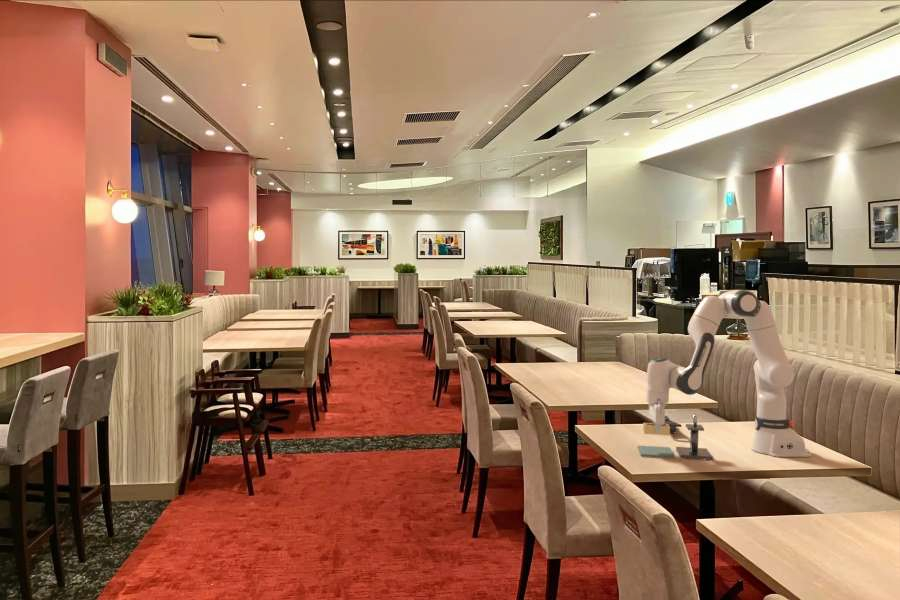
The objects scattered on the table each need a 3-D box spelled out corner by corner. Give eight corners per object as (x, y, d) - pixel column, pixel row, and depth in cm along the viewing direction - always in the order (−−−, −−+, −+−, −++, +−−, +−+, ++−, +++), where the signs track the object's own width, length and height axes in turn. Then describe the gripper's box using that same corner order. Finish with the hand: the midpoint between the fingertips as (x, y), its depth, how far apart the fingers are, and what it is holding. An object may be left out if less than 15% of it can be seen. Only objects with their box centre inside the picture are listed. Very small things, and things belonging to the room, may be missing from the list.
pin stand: (706, 452, 283) (707, 412, 282) (712, 460, 271) (713, 419, 270) (676, 450, 285) (677, 411, 284) (680, 458, 273) (682, 417, 272)
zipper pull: (662, 423, 304) (655, 411, 328) (661, 438, 304) (654, 425, 329) (683, 424, 302) (674, 412, 327) (682, 439, 303) (673, 426, 327)
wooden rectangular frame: (667, 432, 281) (668, 423, 281) (669, 435, 277) (670, 426, 276) (642, 430, 283) (643, 422, 283) (644, 433, 278) (644, 425, 278)
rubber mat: (669, 449, 286) (669, 447, 286) (674, 458, 273) (674, 456, 273) (637, 447, 288) (637, 445, 288) (641, 456, 275) (641, 454, 275)
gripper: (669, 403, 268) (668, 437, 269) (662, 393, 288) (660, 425, 289) (652, 402, 269) (651, 436, 270) (646, 392, 289) (645, 424, 290)
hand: (656, 430), depth 280 cm, fingers closed on wooden rectangular frame, 5 cm apart
